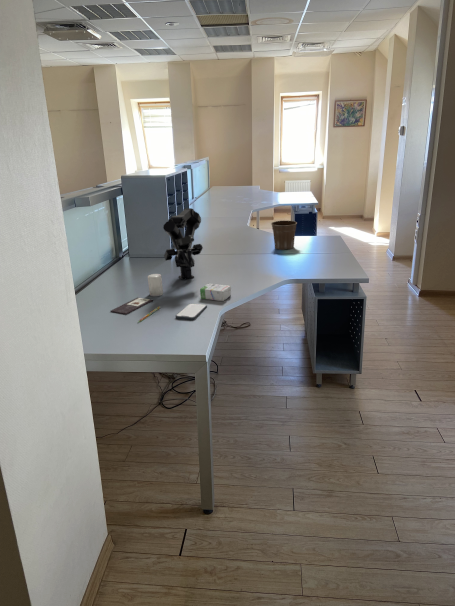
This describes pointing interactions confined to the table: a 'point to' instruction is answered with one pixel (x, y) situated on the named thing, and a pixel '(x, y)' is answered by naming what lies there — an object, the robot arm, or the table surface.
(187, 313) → the smartphone
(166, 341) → the table surface
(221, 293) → the ink box
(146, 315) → the pencil
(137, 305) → the chocolate bar
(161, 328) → the table surface
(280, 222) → the plant pot
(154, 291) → the white rounded cylinder
